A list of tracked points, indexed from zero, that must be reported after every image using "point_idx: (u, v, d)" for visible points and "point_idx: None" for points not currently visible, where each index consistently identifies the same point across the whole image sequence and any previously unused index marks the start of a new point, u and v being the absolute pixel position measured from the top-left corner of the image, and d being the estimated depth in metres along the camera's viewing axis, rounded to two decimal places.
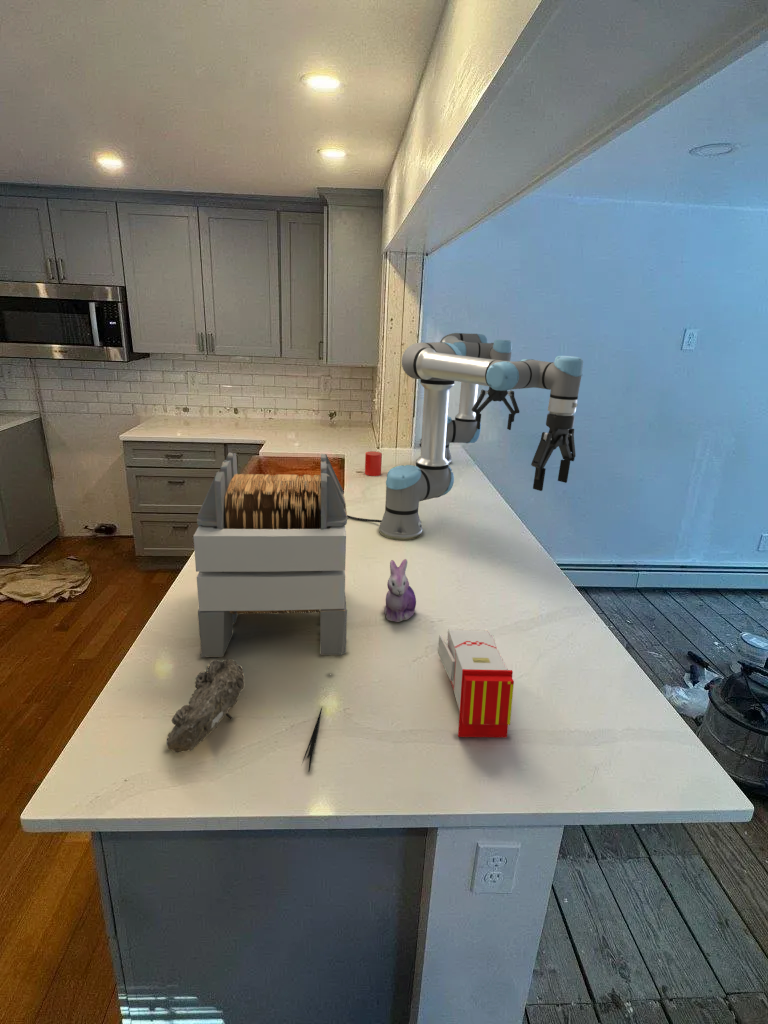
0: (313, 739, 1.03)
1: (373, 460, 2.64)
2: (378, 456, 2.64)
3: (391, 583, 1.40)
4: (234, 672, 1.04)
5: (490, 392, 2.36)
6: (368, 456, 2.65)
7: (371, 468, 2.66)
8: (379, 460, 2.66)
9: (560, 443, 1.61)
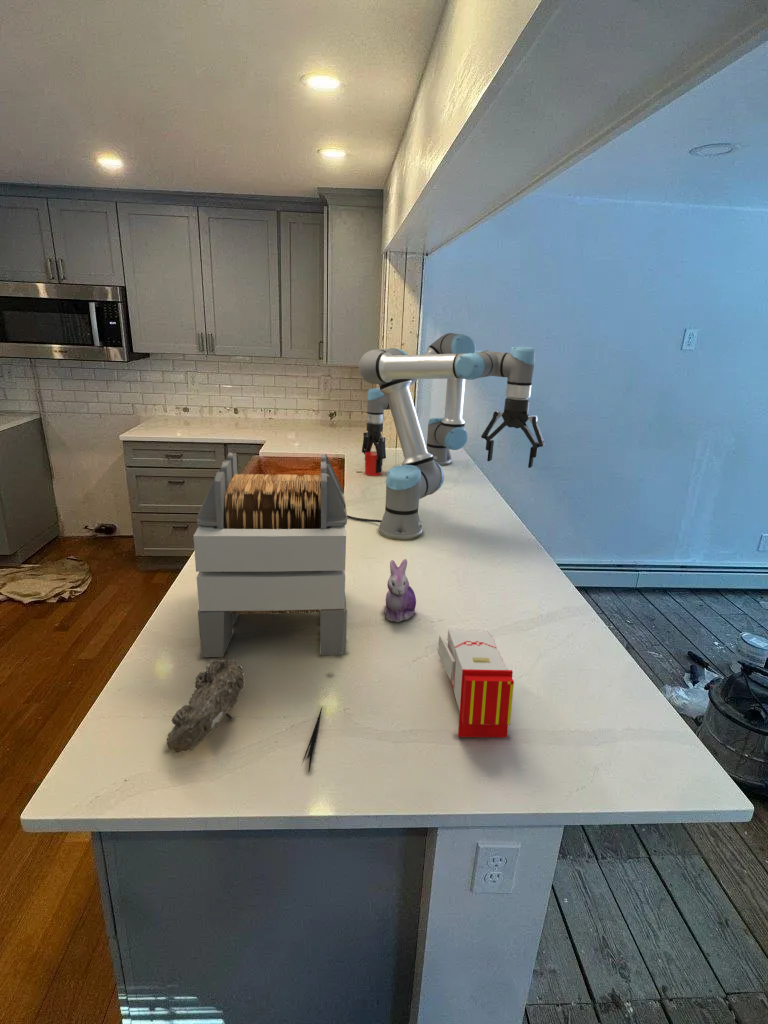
0: (313, 739, 1.03)
1: (373, 460, 2.64)
2: None
3: (391, 583, 1.40)
4: (234, 672, 1.04)
5: (368, 433, 2.66)
6: (368, 456, 2.65)
7: (371, 468, 2.66)
8: None
9: None
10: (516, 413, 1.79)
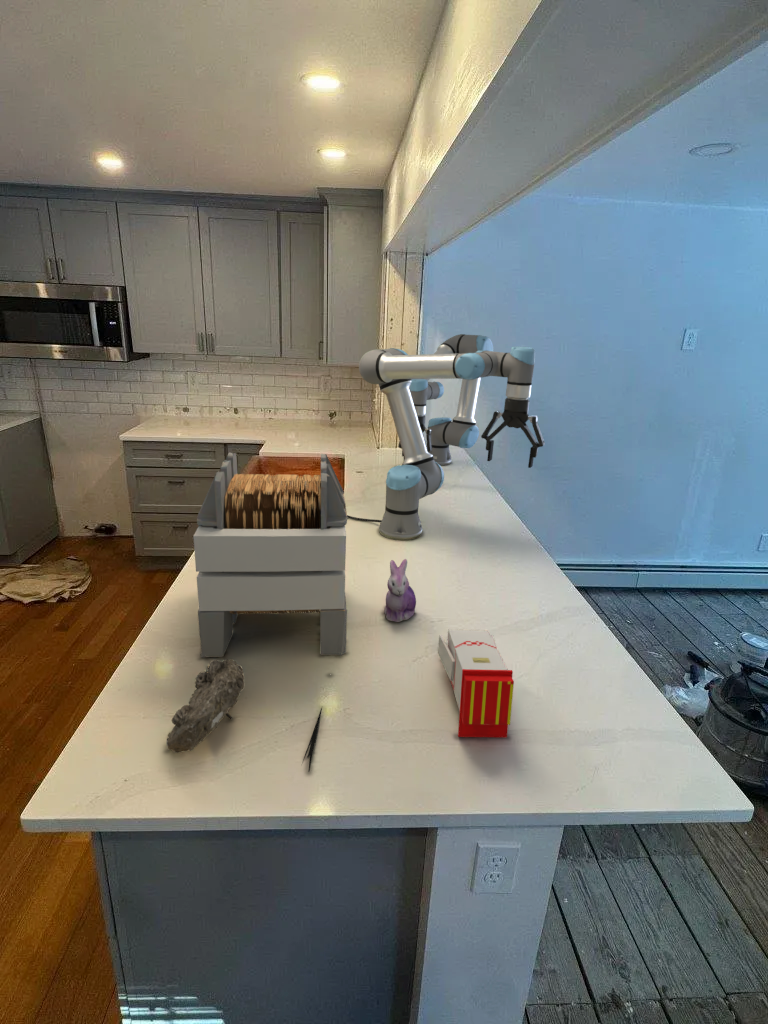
0: (313, 739, 1.03)
1: None
2: None
3: (391, 583, 1.40)
4: (234, 672, 1.04)
5: None
6: None
7: None
8: None
9: None
10: (516, 413, 1.79)
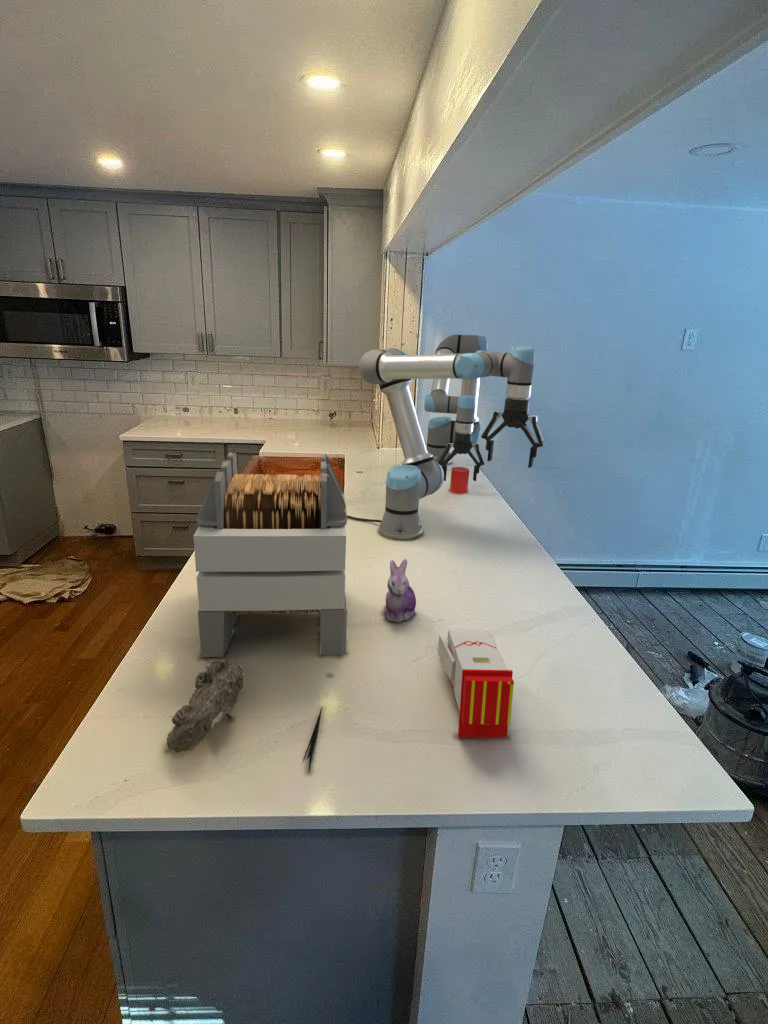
0: (313, 739, 1.03)
1: (468, 475, 2.46)
2: None
3: (391, 583, 1.40)
4: (234, 672, 1.04)
5: (455, 445, 2.42)
6: (464, 473, 2.44)
7: (466, 485, 2.47)
8: None
9: None
10: (516, 413, 1.79)
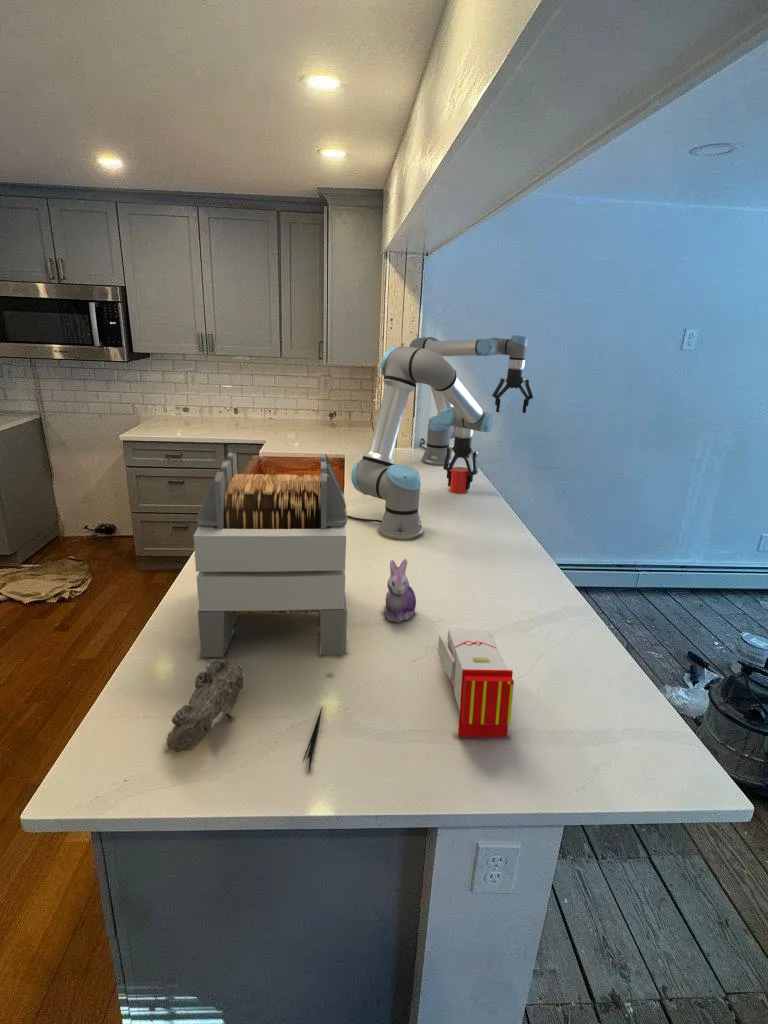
0: (313, 739, 1.03)
1: None
2: None
3: (391, 583, 1.40)
4: (234, 672, 1.04)
5: (508, 380, 2.75)
6: (464, 473, 2.44)
7: (466, 485, 2.47)
8: None
9: None
10: (462, 447, 2.43)
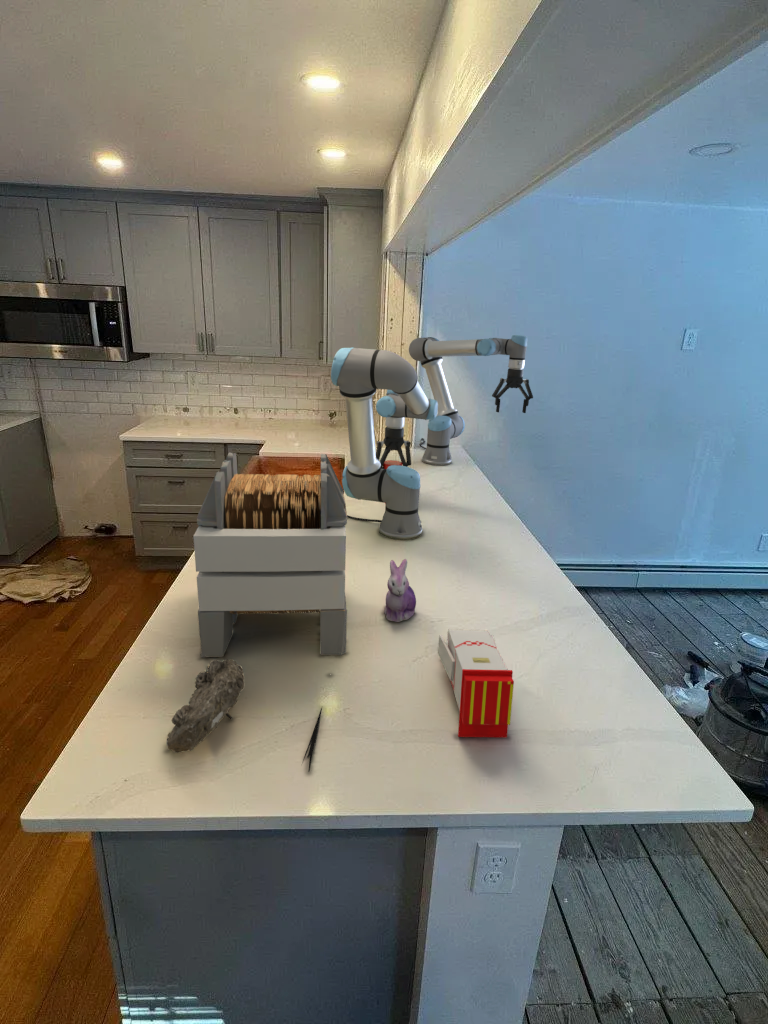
0: (313, 739, 1.03)
1: None
2: None
3: (391, 583, 1.40)
4: (234, 672, 1.04)
5: (508, 380, 2.75)
6: None
7: None
8: None
9: None
10: (395, 439, 2.25)
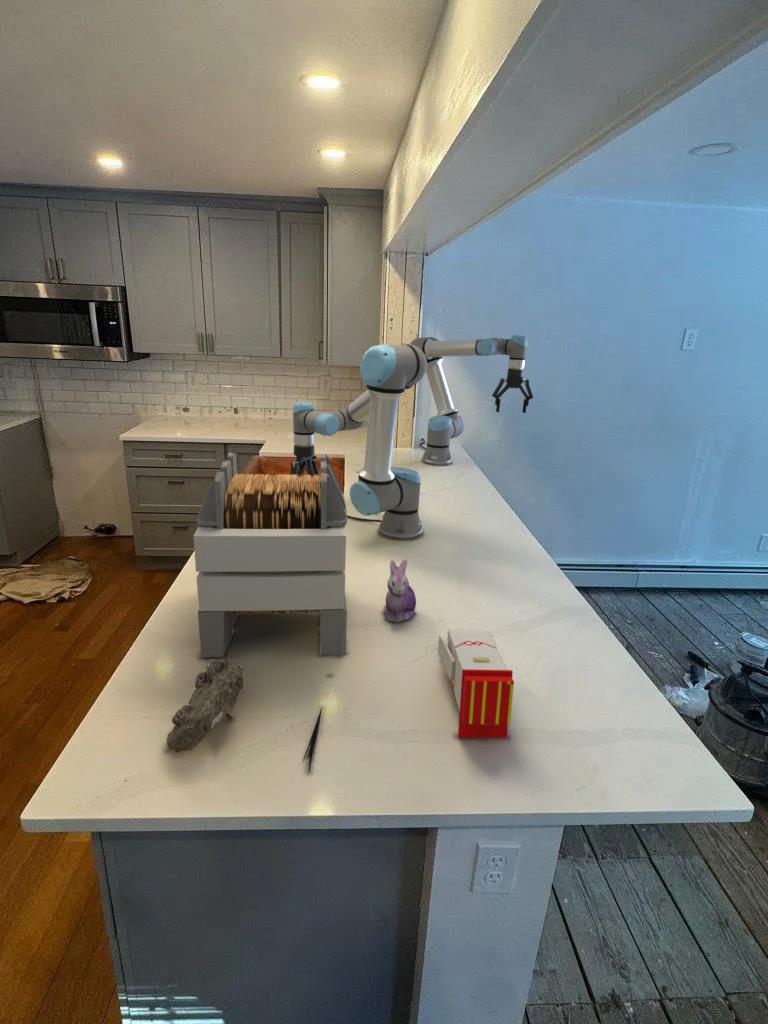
0: (313, 739, 1.03)
1: None
2: None
3: (391, 583, 1.40)
4: (234, 672, 1.04)
5: (508, 380, 2.75)
6: None
7: None
8: None
9: None
10: (307, 457, 2.10)
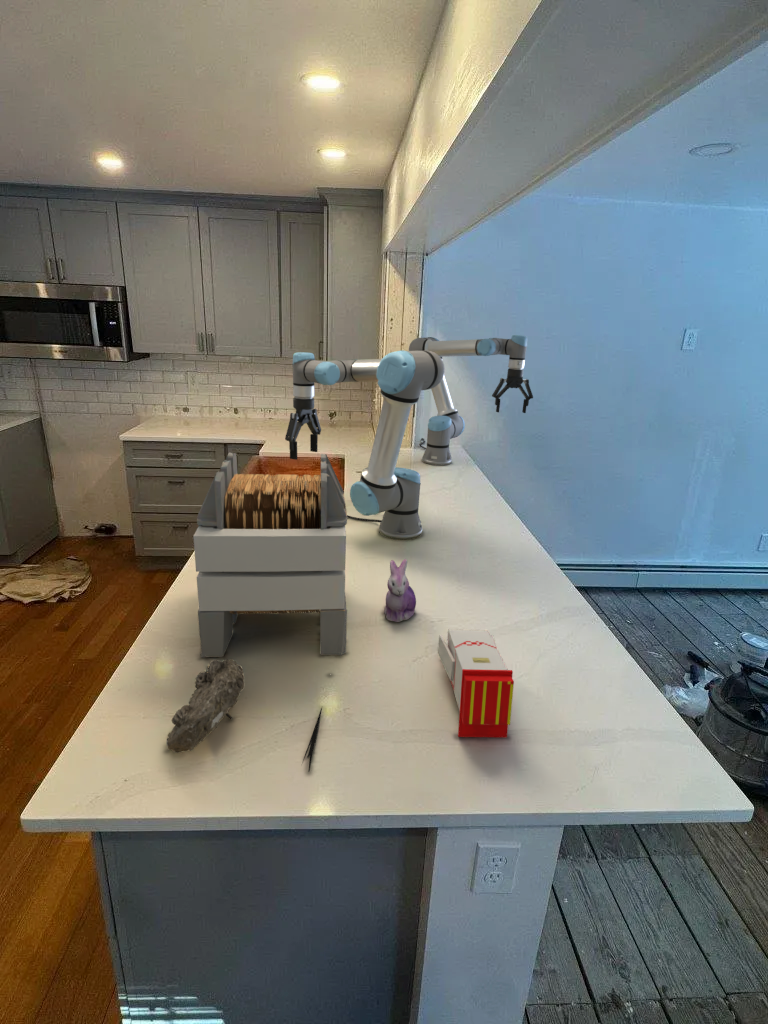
0: (313, 739, 1.03)
1: None
2: None
3: (391, 583, 1.40)
4: (234, 672, 1.04)
5: (508, 380, 2.75)
6: None
7: None
8: None
9: None
10: (307, 410, 2.04)
